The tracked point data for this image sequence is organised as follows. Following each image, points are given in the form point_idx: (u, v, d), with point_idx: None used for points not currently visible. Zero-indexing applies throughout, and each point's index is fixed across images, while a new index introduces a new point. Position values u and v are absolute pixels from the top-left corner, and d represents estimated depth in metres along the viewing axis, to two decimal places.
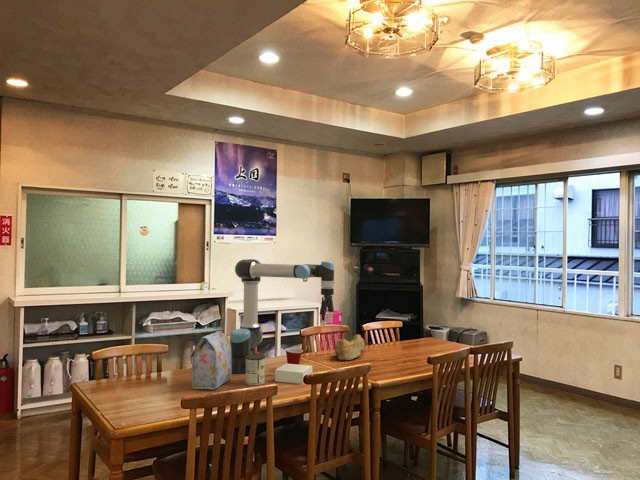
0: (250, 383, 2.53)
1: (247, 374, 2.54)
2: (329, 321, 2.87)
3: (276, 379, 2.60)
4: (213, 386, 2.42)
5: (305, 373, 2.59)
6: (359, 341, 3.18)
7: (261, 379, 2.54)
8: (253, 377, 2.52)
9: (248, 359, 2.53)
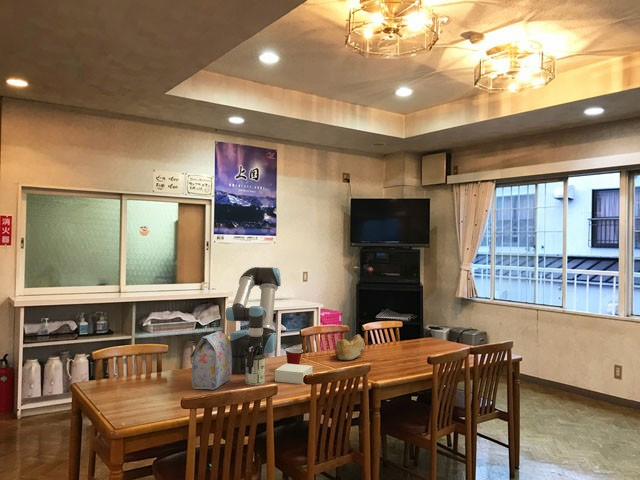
0: (250, 383, 2.53)
1: (247, 374, 2.54)
2: None
3: (276, 379, 2.60)
4: (213, 386, 2.42)
5: (305, 373, 2.59)
6: (359, 341, 3.18)
7: (261, 379, 2.54)
8: (253, 377, 2.52)
9: None
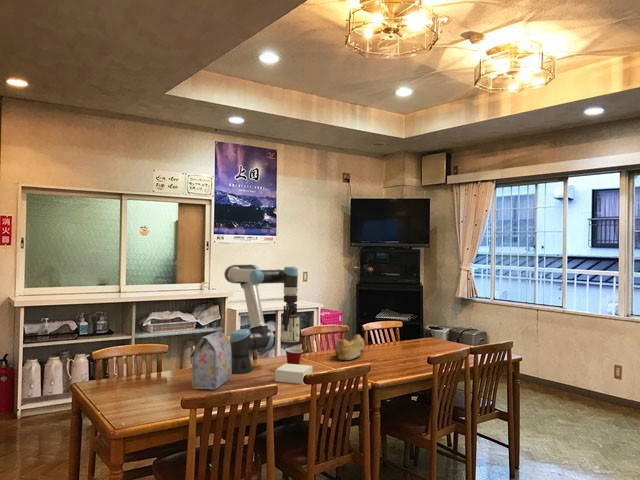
0: (286, 340, 2.60)
1: (283, 332, 2.61)
2: None
3: (276, 379, 2.60)
4: (213, 386, 2.42)
5: (305, 373, 2.59)
6: (359, 341, 3.18)
7: (296, 337, 2.61)
8: (289, 334, 2.60)
9: None
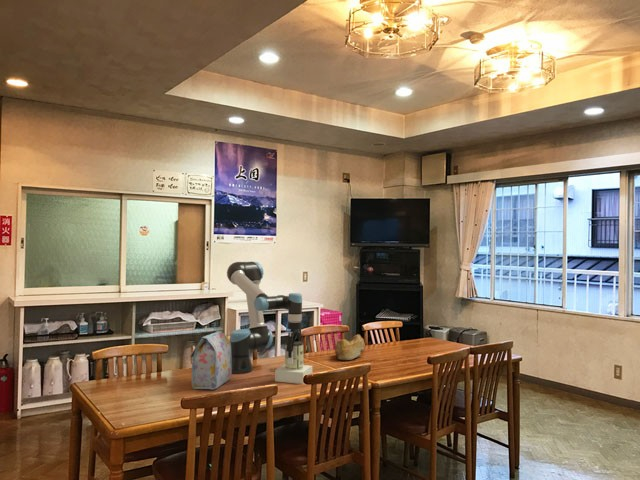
0: (290, 368, 2.61)
1: (287, 359, 2.62)
2: None
3: (276, 379, 2.60)
4: (213, 386, 2.42)
5: (305, 373, 2.59)
6: (359, 341, 3.18)
7: (300, 364, 2.63)
8: (293, 362, 2.61)
9: None
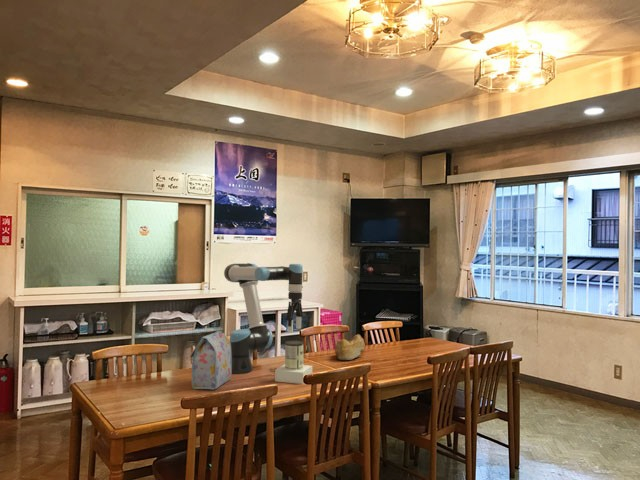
0: (290, 368, 2.61)
1: (287, 359, 2.62)
2: (298, 326, 2.73)
3: (276, 379, 2.60)
4: (213, 386, 2.42)
5: (305, 373, 2.59)
6: (359, 341, 3.18)
7: (300, 364, 2.63)
8: (293, 362, 2.61)
9: (288, 345, 2.62)
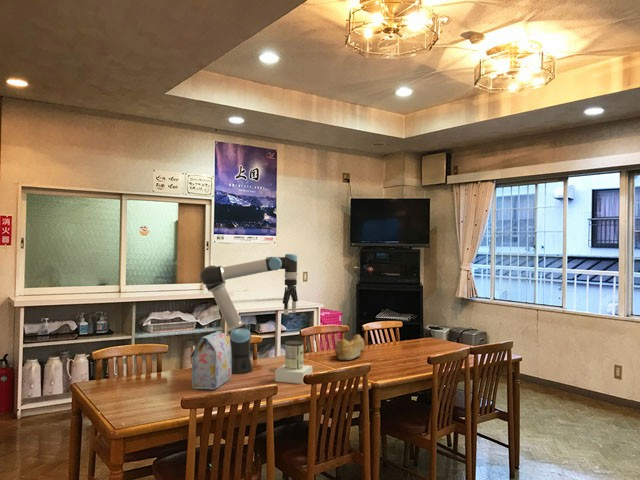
0: (290, 368, 2.61)
1: (287, 359, 2.62)
2: (293, 310, 3.05)
3: (276, 379, 2.60)
4: (213, 386, 2.42)
5: (305, 373, 2.59)
6: (359, 341, 3.18)
7: (300, 364, 2.63)
8: (293, 362, 2.61)
9: (288, 345, 2.62)
